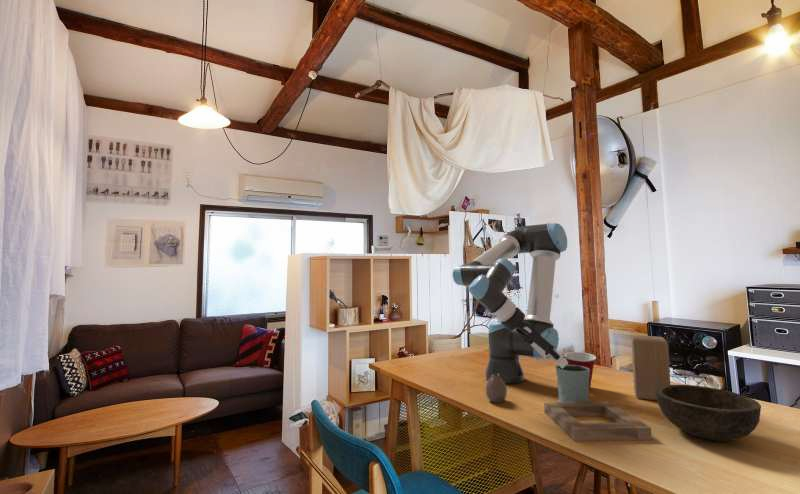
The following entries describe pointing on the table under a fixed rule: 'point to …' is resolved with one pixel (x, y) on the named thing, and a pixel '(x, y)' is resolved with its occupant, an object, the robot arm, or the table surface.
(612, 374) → the table surface
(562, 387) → the grey-green cup
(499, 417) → the table surface
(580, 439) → the well board
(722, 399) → the bowl
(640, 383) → the wooden block
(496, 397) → the vase
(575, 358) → the plastic cup
